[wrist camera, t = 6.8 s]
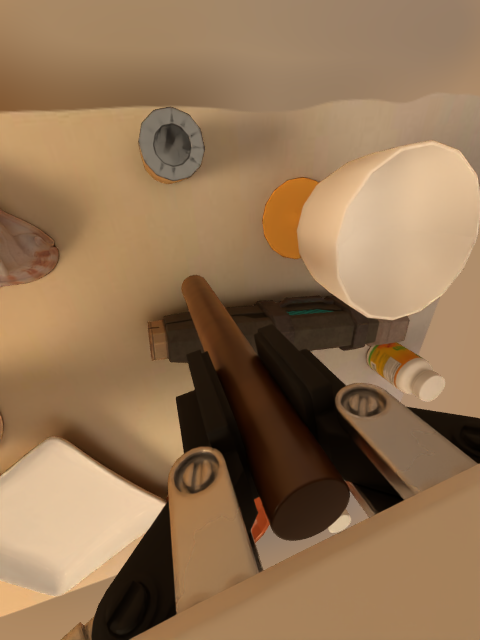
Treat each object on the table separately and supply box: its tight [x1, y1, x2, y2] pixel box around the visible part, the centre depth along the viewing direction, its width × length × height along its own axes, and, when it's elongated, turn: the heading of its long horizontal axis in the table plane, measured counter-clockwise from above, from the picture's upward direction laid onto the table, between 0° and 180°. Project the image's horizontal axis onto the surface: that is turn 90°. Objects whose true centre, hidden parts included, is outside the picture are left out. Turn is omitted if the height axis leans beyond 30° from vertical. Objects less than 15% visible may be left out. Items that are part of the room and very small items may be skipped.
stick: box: [181, 275, 350, 541], centre depth 13 cm, size 2×2×16 cm
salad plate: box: [0, 436, 167, 596], centre depth 39 cm, size 21×21×3 cm
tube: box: [148, 296, 409, 363], centre depth 36 cm, size 11×7×30 cm
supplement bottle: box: [367, 342, 445, 402], centre depth 43 cm, size 5×5×10 cm
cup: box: [262, 140, 480, 320], centre depth 28 cm, size 12×12×17 cm
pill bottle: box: [328, 509, 351, 533], centre depth 51 cm, size 5×5×8 cm
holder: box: [138, 107, 205, 184], centre depth 25 cm, size 4×4×9 cm
